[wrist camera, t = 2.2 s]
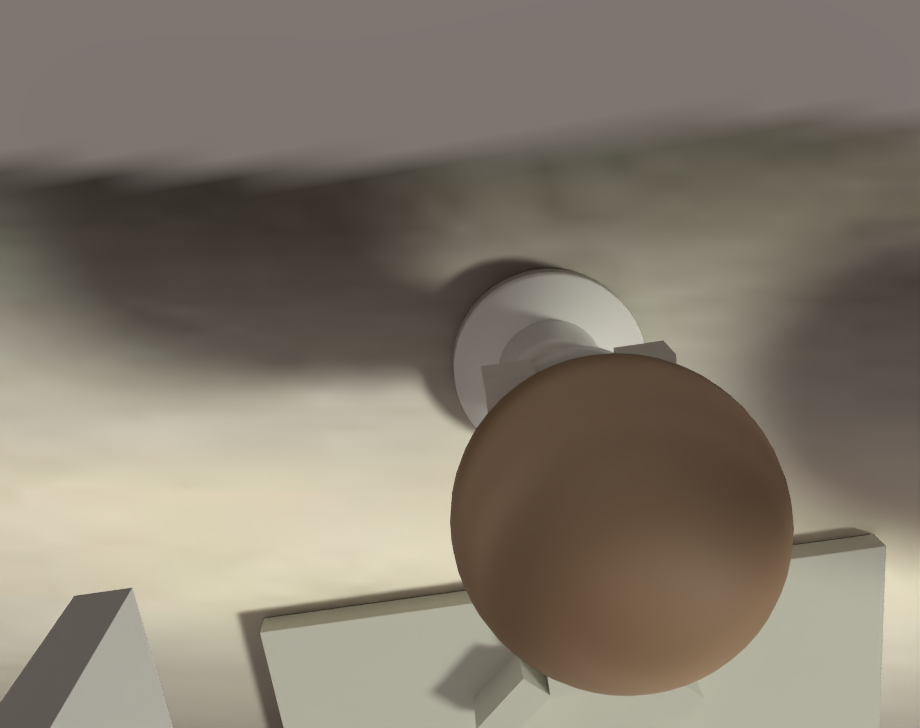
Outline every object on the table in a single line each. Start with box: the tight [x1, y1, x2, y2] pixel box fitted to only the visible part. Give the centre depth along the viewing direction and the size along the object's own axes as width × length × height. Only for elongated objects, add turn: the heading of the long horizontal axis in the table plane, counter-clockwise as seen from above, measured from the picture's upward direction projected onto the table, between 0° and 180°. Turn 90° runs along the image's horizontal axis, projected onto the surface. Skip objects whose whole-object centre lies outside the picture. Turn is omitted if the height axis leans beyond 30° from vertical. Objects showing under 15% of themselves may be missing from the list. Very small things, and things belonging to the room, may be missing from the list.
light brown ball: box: [450, 353, 794, 696], centre depth 13 cm, size 5×5×5 cm
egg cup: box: [453, 268, 676, 428], centre depth 17 cm, size 4×4×5 cm
